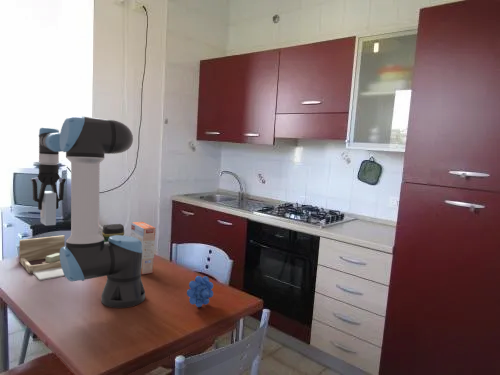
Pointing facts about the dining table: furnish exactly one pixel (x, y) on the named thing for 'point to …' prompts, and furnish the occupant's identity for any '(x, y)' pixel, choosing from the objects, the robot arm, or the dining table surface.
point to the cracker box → (145, 244)
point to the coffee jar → (112, 231)
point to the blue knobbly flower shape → (200, 291)
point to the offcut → (53, 258)
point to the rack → (40, 252)
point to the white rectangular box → (49, 208)
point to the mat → (49, 273)
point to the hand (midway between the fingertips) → (48, 216)
